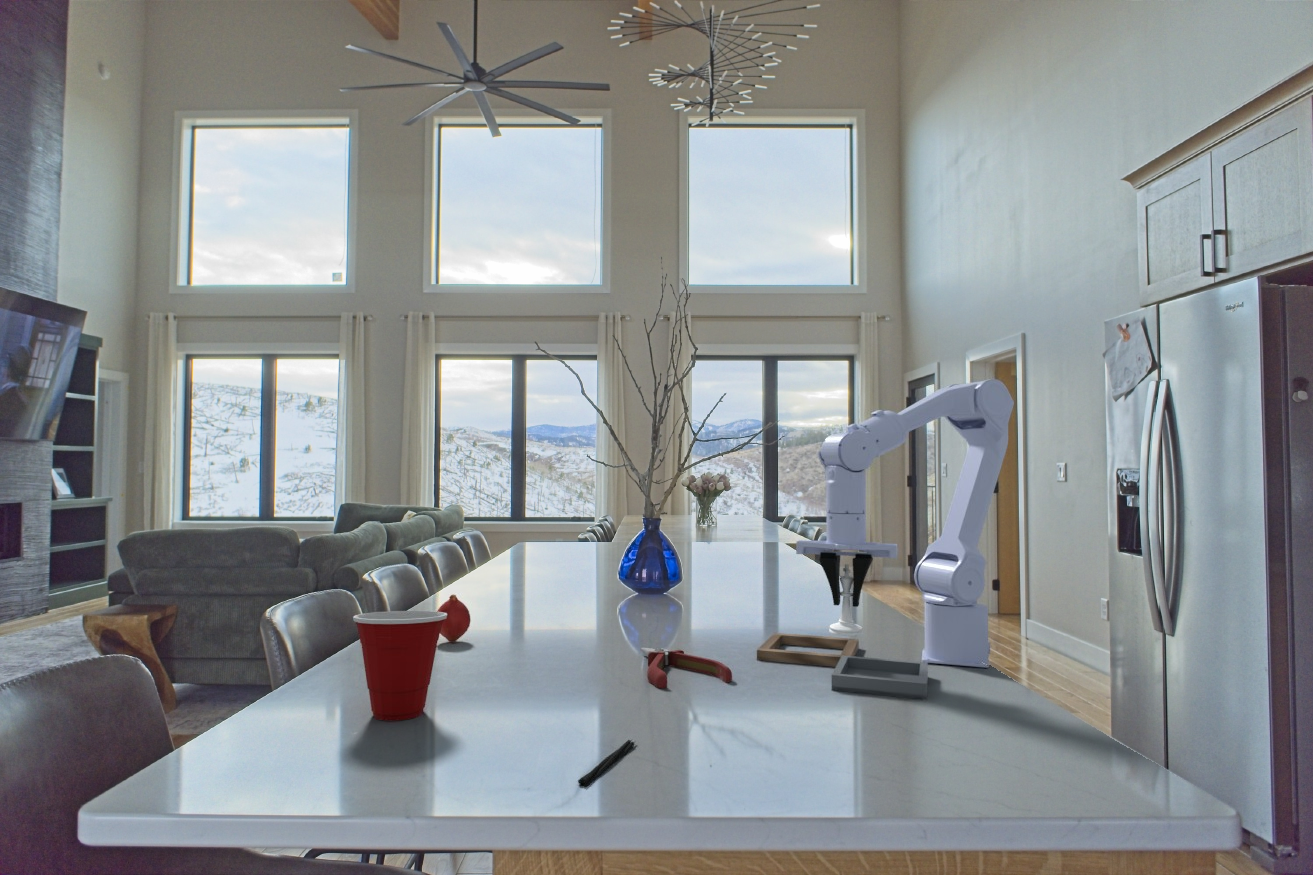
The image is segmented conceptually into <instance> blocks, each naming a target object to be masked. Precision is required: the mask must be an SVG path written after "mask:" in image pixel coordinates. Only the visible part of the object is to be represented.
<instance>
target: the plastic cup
mask: <svg viewBox="0 0 1313 875" xmlns="http://www.w3.org/2000/svg"><path fill="white" fill-rule="evenodd" d="M446 617H447V613H443V612H437V611H435V610H434V611H433V610H432V611H431V610H391V611H376V612H367V613H360V614H355V615H354V616H352V619H353V622H355V625H356V628H357V631H358V633H357V634H358V635H359V641H360V642H359V643H360V644H361V651H362V658H363V664H364V671H365V672H364V673H365V679H366V685H367V686H366V687H367V690H368V695H369V701H370V707H371V712H372V717H373V718H375V719H376V720H378V721H379V720H380V721H388V722H389V721H391V722H394V721H405V720H409V719H410V720H411V719H414V718H418V717H419V716H421V715H422V714H423V713H424V710H425V709H424V708H425V707H426V702H427V696H428V691H429V686H430V683H431V680H432V678H431V677H432V672H433V667H434V663H435V661H434V660H435V657H436V652H437V650H436V649H437V645H438V641H439V637H440V635H441V634H440V631H441V627H442V625H443V622H444V619H446Z"/></svg>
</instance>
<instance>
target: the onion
mask: <svg viewBox="0 0 1313 875" xmlns="http://www.w3.org/2000/svg"><path fill="white" fill-rule="evenodd" d="M448 598H449V599H448V600H446V601H445V602H444V603H442V604H441V605H440V606H439V608H438V609H437V611H436V612H443V613H447V617H446V619H444V622H443V625H442V627H441V631H440V634H439V635H441V636H442V637H443V638H444V639H446V640H447V641H448V642H450V643H455V642H457V641H458V640H459V639H460V638H461V637H463V636H464V635H465V634H466V633H467V631H468V630H469V628H470V627H471V621H472V620H471V614H470V610H469V609H468V607H467V606H466V605H465V603H464V602H463V601H461V600H459V598H458V597H457V595H456V594H450V596H449V597H448Z"/></svg>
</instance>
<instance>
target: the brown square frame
mask: <svg viewBox="0 0 1313 875" xmlns="http://www.w3.org/2000/svg"><path fill="white" fill-rule="evenodd" d="M859 642H860V641H859V638H849V637H848V638H847V637H845V638H844V637H834V636H820V635H807V634H798V633H796V634H794V633H783V632H782V633H781V632H774V633H773V634H772V635H771V636H769V637H768V639H766V640H765V641H764V643H762V644H761V645H760V647H758V648H757V649H756V660H757V661H767V662H777V663H787V664H788V663H789V664H798V665H799V664H800V665H809V666H810V665H811V666H822V667H833V668H836V666H837V664H838V662H839V660H840V658H841V656H842V655H843V656H855V657H856V656H857V653H858V652H859V649H860V648H859V647H860V644H859ZM781 645H789V646H801V647H809V648H810V647H813V648H825V649H835V650H836V649H837V650H838V649H839V650H841V653H840V654H835V653H834V654H833V653H822V652H809V651H802V650H801V651H798V650H787V649H779V648H778V647H781Z"/></svg>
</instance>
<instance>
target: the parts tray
mask: <svg viewBox="0 0 1313 875" xmlns="http://www.w3.org/2000/svg"><path fill="white" fill-rule="evenodd" d="M928 668H929V663H926V662H922V661H913V660H912V661H911V660H901V659H890V658H889V659H887V658H877V657H866V656H856V655H855V656H843V655H842V656H841V658H840V660H839V662H838V664H837V666H836V667H834V669H833V671H832V673H831V691H837V692H849V693H858V694H868V695H876V696H878V695H879V696H887V697H888V696H889V697H898V698H907V699H919V700H927V698H928V683H929V682H928V680H929V674H928V673H929V669H928Z"/></svg>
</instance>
